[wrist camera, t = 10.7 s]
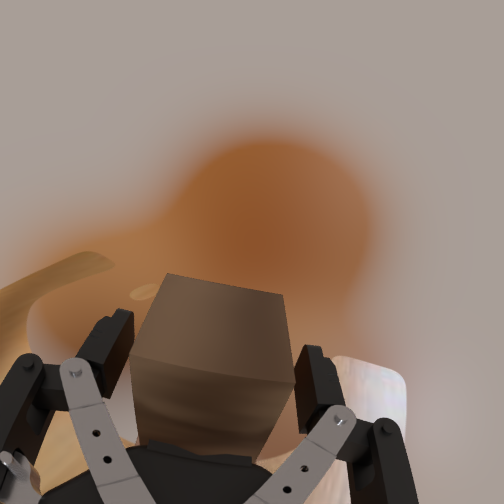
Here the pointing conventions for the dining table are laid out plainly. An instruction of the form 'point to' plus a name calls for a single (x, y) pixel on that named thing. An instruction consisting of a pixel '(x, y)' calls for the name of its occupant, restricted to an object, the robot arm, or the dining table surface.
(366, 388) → the dining table surface
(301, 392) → the robot arm
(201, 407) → the pillar
